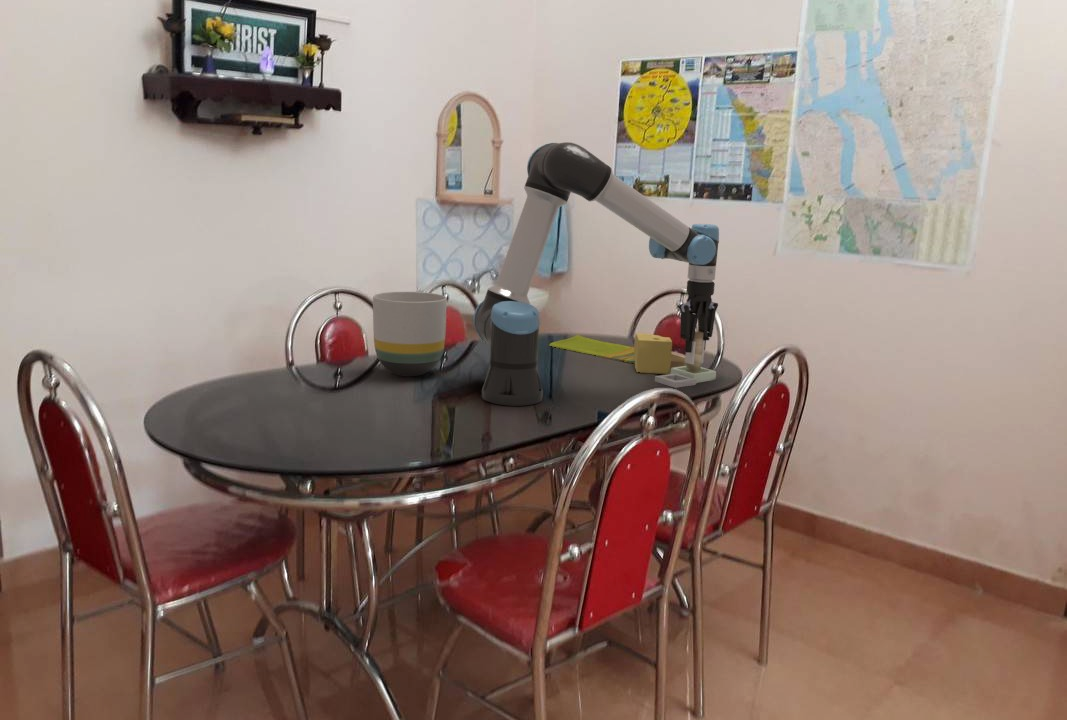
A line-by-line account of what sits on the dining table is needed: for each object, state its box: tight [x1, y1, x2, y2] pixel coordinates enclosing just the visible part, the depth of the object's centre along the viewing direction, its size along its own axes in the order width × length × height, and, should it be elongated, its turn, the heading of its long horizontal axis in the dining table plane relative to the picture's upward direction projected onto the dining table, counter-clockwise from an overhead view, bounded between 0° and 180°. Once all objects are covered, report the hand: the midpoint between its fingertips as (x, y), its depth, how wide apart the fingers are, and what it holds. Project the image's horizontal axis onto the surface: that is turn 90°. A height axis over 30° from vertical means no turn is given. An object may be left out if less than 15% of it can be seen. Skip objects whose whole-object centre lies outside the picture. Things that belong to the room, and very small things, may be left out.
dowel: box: [686, 330, 703, 373], centre depth 237 cm, size 4×4×12 cm
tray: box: [670, 366, 717, 384], centre depth 238 cm, size 9×9×2 cm
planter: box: [372, 291, 448, 377], centre depth 226 cm, size 20×20×21 cm
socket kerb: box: [654, 373, 697, 388], centre depth 231 cm, size 8×8×2 cm
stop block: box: [670, 351, 687, 368], centre depth 251 cm, size 3×10×4 cm, turn 36°
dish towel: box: [548, 334, 635, 365], centre depth 268 cm, size 15×36×3 cm, turn 50°
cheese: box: [633, 332, 673, 375], centre depth 245 cm, size 10×11×10 cm
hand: (694, 362), depth 237 cm, fingers closed on dowel, 3 cm apart
